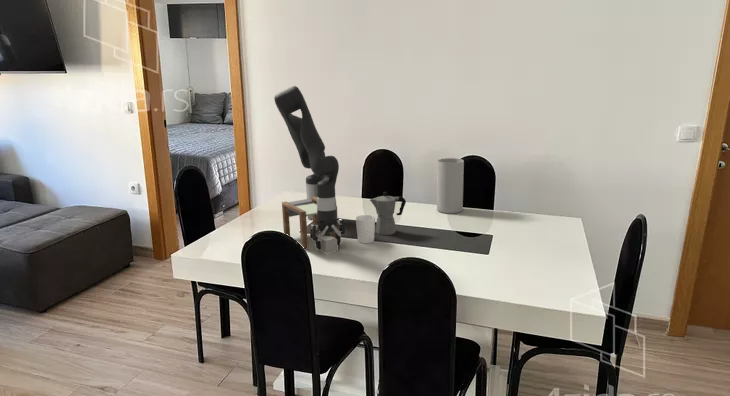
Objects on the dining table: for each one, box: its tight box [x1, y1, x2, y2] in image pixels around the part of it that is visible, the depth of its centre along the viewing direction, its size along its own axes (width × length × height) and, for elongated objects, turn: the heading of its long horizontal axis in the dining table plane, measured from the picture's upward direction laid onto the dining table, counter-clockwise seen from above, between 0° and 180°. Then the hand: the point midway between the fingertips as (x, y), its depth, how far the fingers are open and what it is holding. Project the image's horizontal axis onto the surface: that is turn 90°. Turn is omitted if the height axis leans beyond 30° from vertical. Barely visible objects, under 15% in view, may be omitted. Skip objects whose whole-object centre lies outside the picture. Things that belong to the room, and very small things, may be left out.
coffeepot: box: [369, 191, 407, 236], centre depth 222 cm, size 15×9×18 cm, turn 92°
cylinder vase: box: [436, 157, 465, 215], centre depth 251 cm, size 12×12×25 cm
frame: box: [281, 196, 339, 250], centre depth 215 cm, size 16×19×16 cm
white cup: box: [355, 214, 376, 244], centre depth 212 cm, size 8×8×10 cm
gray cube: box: [320, 235, 339, 254], centre depth 203 cm, size 5×5×5 cm
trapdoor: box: [287, 198, 317, 218], centre depth 216 cm, size 20×11×5 cm, turn 32°
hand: (328, 247), depth 203 cm, fingers open, 8 cm apart
